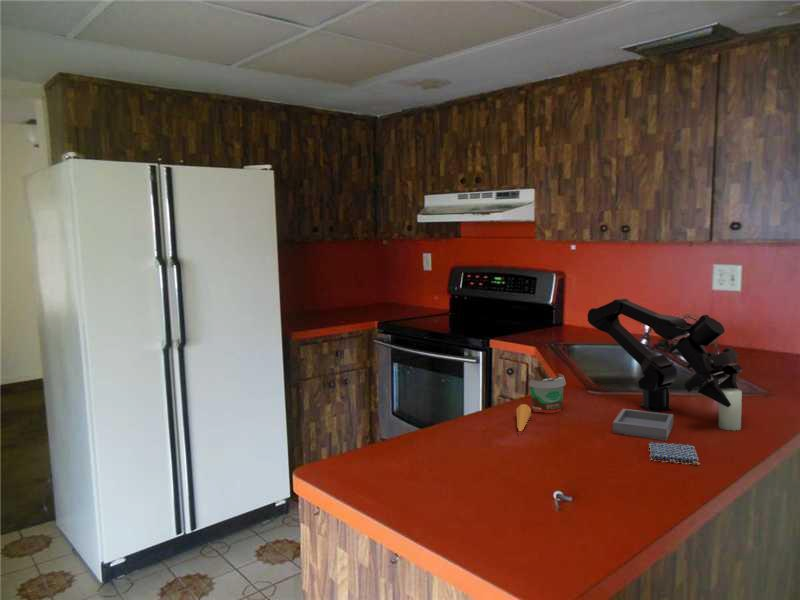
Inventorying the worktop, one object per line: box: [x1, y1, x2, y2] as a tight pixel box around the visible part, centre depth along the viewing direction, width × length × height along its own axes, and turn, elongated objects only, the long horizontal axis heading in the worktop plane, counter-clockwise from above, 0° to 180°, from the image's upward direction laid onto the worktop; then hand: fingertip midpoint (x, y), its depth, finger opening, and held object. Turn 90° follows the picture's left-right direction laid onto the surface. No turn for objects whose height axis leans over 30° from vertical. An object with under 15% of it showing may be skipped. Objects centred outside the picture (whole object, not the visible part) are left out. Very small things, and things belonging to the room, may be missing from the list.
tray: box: [612, 408, 674, 442], centre depth 157 cm, size 13×13×3 cm
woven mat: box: [647, 440, 701, 466], centre depth 139 cm, size 10×11×2 cm
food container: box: [528, 373, 567, 410], centre depth 175 cm, size 12×6×10 cm, turn 117°
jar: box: [717, 388, 743, 432], centre depth 155 cm, size 5×5×10 cm
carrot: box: [515, 403, 532, 431], centre depth 163 cm, size 20×4×4 cm, turn 164°
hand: (735, 404), depth 154 cm, fingers closed on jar, 5 cm apart
